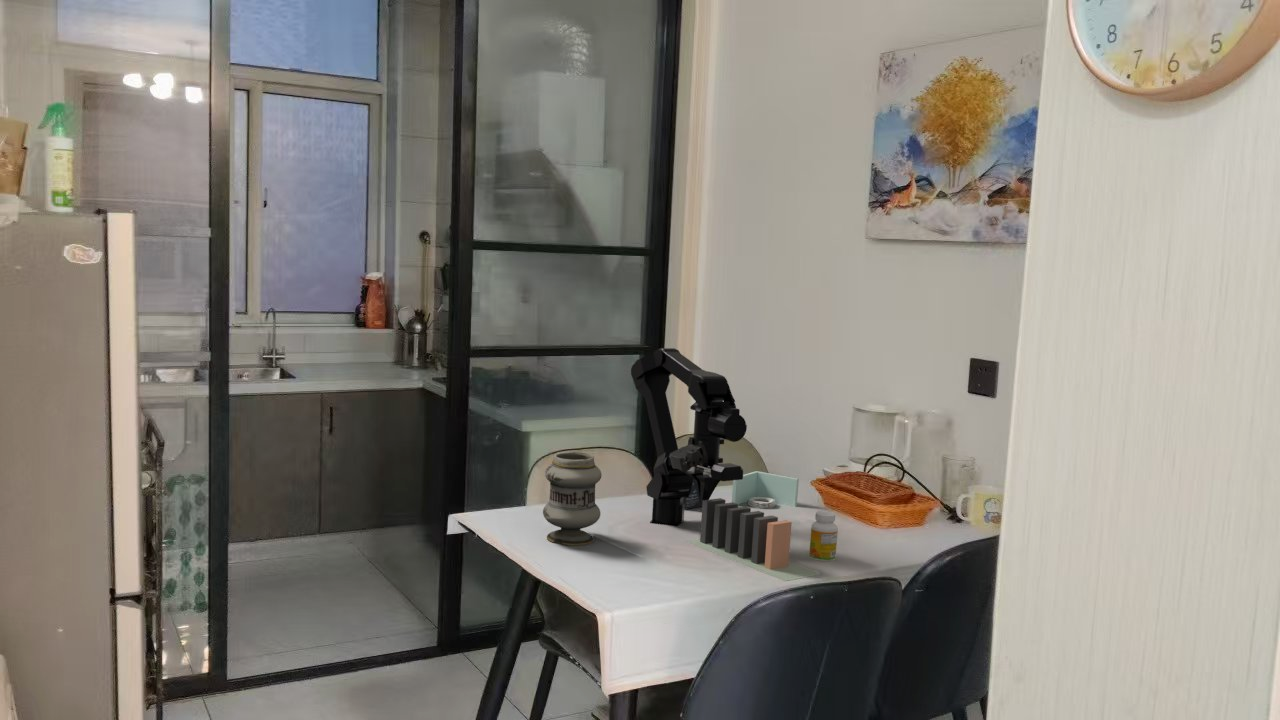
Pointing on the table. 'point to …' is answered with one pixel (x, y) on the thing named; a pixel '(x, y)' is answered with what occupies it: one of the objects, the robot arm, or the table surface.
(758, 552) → the domino
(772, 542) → the domino
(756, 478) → the right angle wall
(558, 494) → the apothecary jar
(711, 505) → the domino
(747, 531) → the domino
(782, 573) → the rack
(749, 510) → the domino
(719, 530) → the domino
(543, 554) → the table surface
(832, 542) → the supplement bottle
